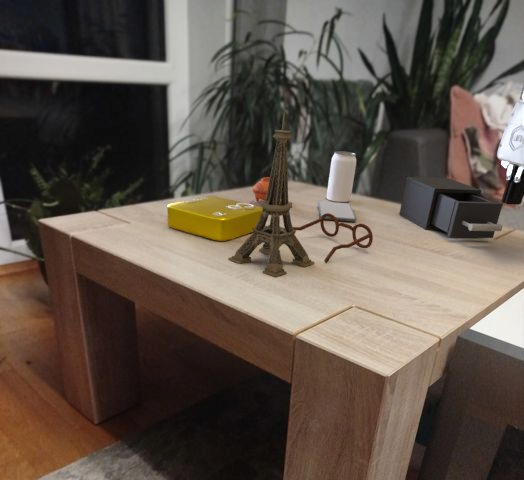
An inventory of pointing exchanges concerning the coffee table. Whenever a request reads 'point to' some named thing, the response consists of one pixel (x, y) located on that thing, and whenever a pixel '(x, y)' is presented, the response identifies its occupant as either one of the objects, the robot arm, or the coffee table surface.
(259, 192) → the orange cupcake
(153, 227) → the coffee table surface
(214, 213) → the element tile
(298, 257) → the eiffel tower
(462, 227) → the drawer
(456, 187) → the cabinet
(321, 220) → the glasses
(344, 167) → the can
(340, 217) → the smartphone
